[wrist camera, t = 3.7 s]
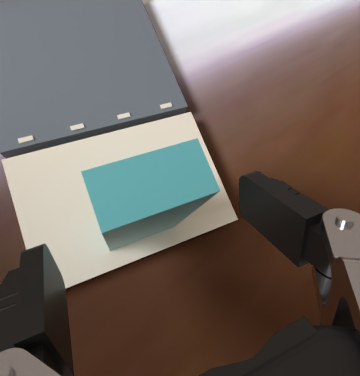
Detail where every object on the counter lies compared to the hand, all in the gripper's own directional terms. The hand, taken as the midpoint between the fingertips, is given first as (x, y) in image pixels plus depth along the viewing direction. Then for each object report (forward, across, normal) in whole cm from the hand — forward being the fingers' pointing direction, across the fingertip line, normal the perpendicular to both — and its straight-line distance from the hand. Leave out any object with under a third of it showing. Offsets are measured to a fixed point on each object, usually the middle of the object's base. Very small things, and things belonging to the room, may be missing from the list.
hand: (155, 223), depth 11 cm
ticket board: (+15, 0, -6) cm, 16 cm away
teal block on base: (+7, 0, +3) cm, 7 cm away
